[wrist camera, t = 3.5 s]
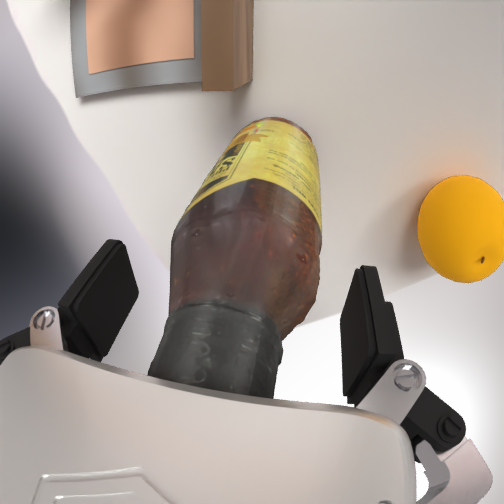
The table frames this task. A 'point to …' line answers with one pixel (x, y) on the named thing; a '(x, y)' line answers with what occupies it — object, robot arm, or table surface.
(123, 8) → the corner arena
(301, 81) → the table surface
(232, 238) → the sauce bottle
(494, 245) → the mandarin orange
